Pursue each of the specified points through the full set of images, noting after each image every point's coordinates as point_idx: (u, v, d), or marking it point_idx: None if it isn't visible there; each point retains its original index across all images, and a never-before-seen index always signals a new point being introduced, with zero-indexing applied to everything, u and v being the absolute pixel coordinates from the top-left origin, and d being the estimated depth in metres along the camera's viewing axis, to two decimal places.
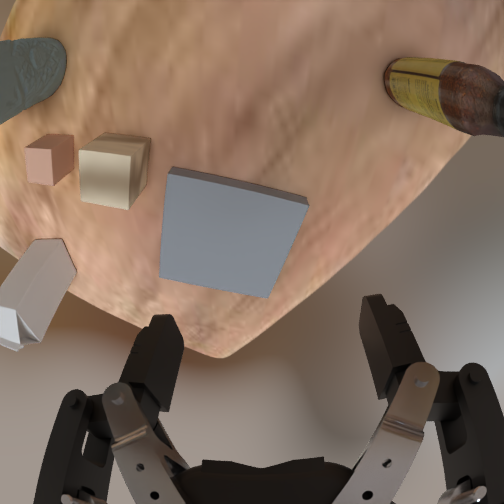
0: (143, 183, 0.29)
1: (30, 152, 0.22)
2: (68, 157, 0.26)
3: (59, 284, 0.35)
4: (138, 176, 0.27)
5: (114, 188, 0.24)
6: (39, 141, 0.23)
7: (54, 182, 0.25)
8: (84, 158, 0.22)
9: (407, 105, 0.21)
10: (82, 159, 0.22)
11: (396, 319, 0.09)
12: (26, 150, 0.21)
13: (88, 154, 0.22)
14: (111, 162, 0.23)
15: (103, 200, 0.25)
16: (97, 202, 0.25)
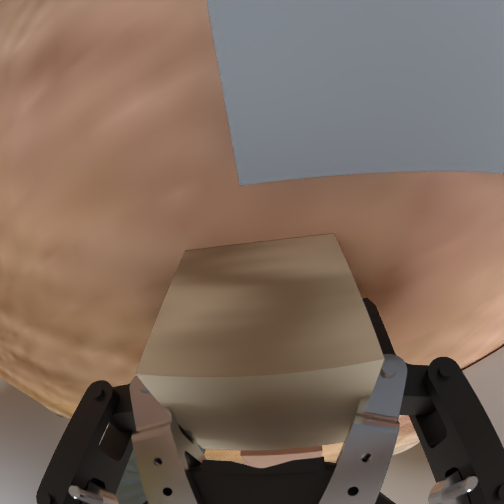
0: (320, 252, 0.09)
1: (258, 467, 0.14)
2: None
3: None
4: (270, 295, 0.08)
5: (288, 404, 0.06)
6: None
7: (315, 447, 0.12)
8: (219, 444, 0.09)
9: None
10: (224, 447, 0.09)
11: (368, 312, 0.10)
12: None
13: (204, 440, 0.08)
14: (193, 412, 0.07)
15: (345, 416, 0.07)
16: None
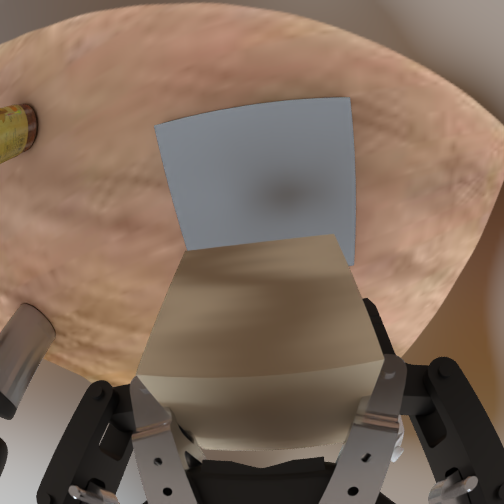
0: (320, 253, 0.09)
1: None
2: None
3: None
4: (270, 295, 0.08)
5: (288, 405, 0.06)
6: None
7: None
8: (219, 444, 0.09)
9: (15, 133, 0.17)
10: (224, 447, 0.09)
11: (368, 312, 0.10)
12: None
13: (204, 441, 0.08)
14: (193, 413, 0.07)
15: (345, 416, 0.07)
16: None
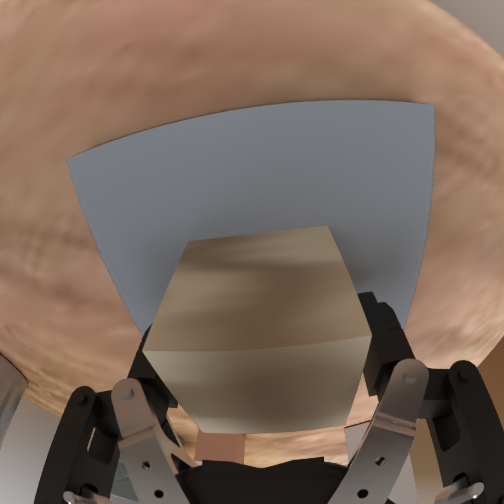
0: (314, 242, 0.10)
1: None
2: (218, 435, 0.26)
3: None
4: (267, 279, 0.09)
5: (284, 381, 0.07)
6: None
7: (232, 461, 0.23)
8: (219, 427, 0.09)
9: None
10: (223, 430, 0.09)
11: (387, 316, 0.09)
12: None
13: (204, 422, 0.09)
14: (194, 391, 0.08)
15: (338, 395, 0.08)
16: (347, 403, 0.08)
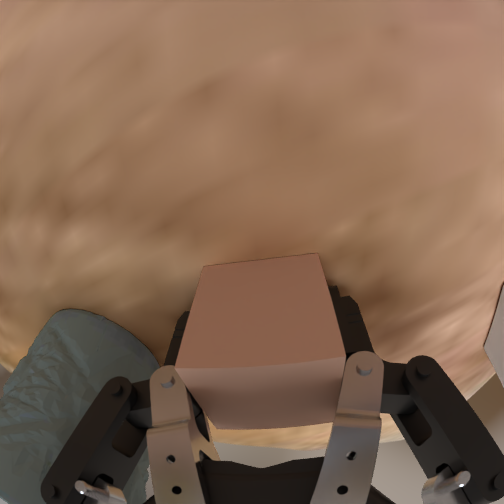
0: None
1: (224, 419, 0.09)
2: (265, 282, 0.10)
3: None
4: None
5: None
6: None
7: (331, 351, 0.07)
8: None
9: None
10: None
11: (349, 310, 0.10)
12: (224, 426, 0.09)
13: None
14: None
15: None
16: None
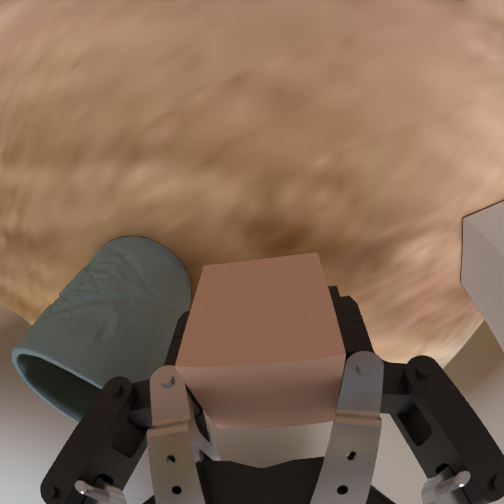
0: None
1: (224, 418, 0.09)
2: (265, 280, 0.10)
3: None
4: None
5: None
6: None
7: (331, 349, 0.07)
8: None
9: None
10: None
11: (349, 310, 0.10)
12: (224, 425, 0.09)
13: None
14: None
15: None
16: None
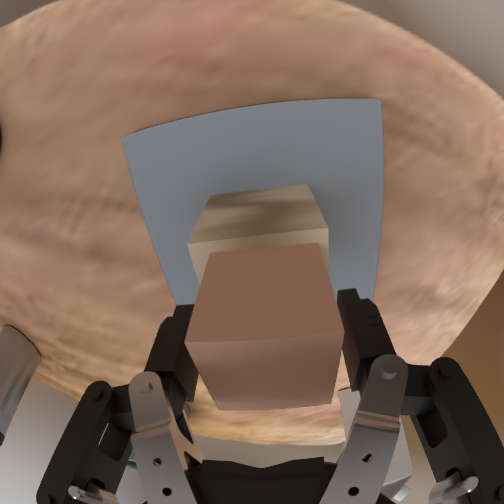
0: (296, 191, 0.15)
1: (227, 398, 0.09)
2: (268, 266, 0.10)
3: None
4: (265, 208, 0.14)
5: None
6: None
7: (331, 326, 0.07)
8: None
9: None
10: None
11: (369, 313, 0.10)
12: (226, 406, 0.10)
13: None
14: None
15: None
16: None
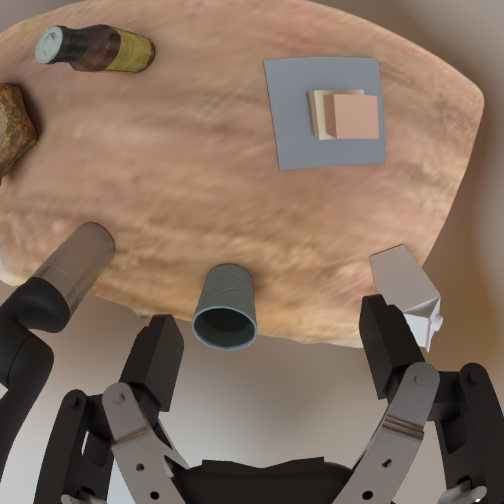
0: None
1: (341, 128, 0.24)
2: None
3: (404, 262, 0.41)
4: None
5: None
6: (331, 128, 0.26)
7: None
8: (326, 133, 0.29)
9: (144, 52, 0.27)
10: (327, 136, 0.29)
11: (396, 319, 0.09)
12: (340, 135, 0.24)
13: (322, 129, 0.29)
14: (323, 107, 0.27)
15: None
16: None
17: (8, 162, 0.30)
